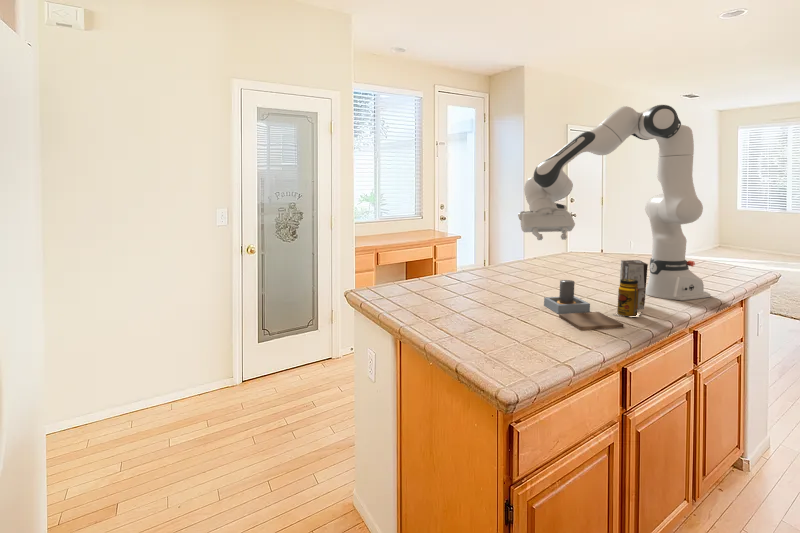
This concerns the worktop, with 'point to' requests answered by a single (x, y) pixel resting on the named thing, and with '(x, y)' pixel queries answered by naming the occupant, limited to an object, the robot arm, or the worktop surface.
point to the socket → (566, 306)
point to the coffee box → (636, 276)
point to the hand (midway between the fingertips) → (552, 238)
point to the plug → (566, 292)
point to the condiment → (628, 297)
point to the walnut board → (590, 320)
